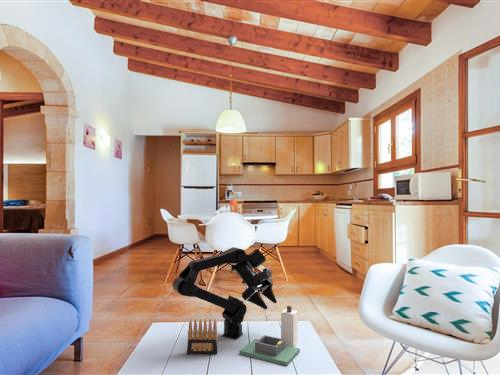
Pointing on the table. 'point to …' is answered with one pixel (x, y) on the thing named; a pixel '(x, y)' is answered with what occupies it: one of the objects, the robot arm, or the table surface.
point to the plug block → (289, 326)
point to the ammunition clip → (202, 339)
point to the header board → (271, 350)
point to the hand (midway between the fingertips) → (271, 305)
